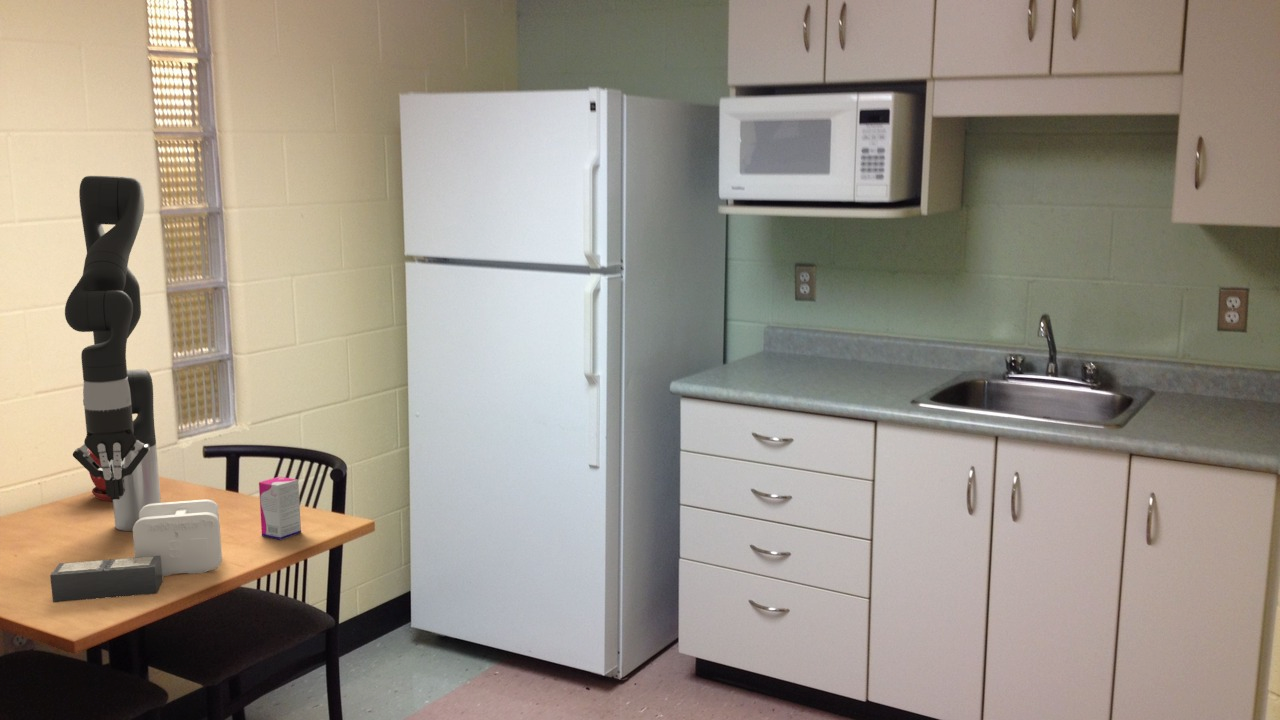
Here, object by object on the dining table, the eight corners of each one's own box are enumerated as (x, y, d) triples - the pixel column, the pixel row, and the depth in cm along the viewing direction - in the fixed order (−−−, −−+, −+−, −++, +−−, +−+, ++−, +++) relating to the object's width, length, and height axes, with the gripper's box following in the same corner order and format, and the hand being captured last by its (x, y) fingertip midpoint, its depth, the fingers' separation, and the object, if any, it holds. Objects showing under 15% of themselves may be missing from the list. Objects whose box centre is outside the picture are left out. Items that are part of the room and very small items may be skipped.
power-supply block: (61, 590, 205) (59, 562, 204) (162, 581, 209) (160, 554, 208) (53, 602, 199) (50, 574, 198) (156, 593, 203) (154, 565, 202)
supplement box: (302, 532, 236) (299, 479, 234) (280, 540, 231) (276, 486, 229) (282, 528, 239) (279, 475, 237) (260, 536, 234) (256, 482, 232)
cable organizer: (226, 554, 223) (222, 497, 221) (221, 573, 213) (217, 513, 211) (144, 562, 219) (139, 504, 217) (135, 581, 209) (130, 520, 207)
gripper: (151, 397, 205) (159, 489, 209) (72, 401, 202) (80, 494, 205) (144, 406, 198) (152, 502, 201) (61, 410, 195) (70, 507, 198)
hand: (116, 498), depth 203 cm, fingers closed
